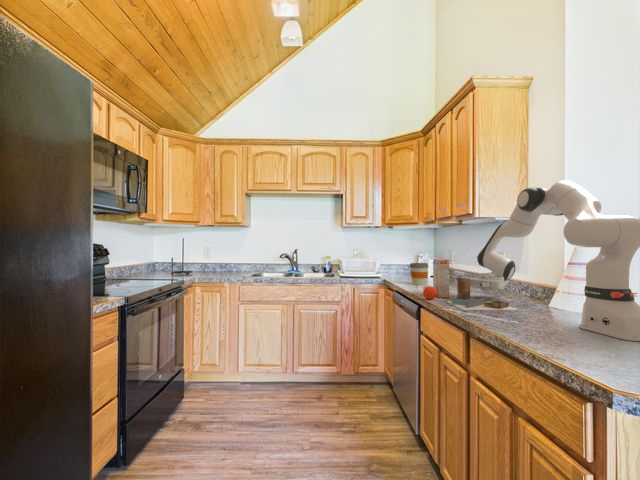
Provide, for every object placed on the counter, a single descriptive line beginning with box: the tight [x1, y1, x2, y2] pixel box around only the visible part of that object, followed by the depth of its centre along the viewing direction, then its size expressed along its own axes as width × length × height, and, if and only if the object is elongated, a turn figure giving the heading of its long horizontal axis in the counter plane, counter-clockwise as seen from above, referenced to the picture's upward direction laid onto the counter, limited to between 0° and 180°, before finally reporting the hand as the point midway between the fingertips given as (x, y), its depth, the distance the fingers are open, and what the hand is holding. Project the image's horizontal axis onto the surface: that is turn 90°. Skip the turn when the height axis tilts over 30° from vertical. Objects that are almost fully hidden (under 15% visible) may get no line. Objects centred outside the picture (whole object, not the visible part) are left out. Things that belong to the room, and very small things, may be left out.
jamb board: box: [446, 298, 519, 313], centre depth 146 cm, size 20×23×4 cm
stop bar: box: [456, 277, 471, 300], centre depth 151 cm, size 4×4×12 cm
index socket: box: [451, 296, 477, 305], centre depth 151 cm, size 8×8×2 cm
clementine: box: [422, 285, 437, 301], centre depth 168 cm, size 8×7×7 cm
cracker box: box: [432, 257, 450, 299], centre depth 178 cm, size 14×6×21 cm, turn 171°
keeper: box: [484, 300, 510, 309], centre depth 143 cm, size 7×8×2 cm
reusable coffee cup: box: [409, 262, 429, 286], centre depth 228 cm, size 13×13×15 cm
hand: (471, 283), depth 155 cm, fingers open, 8 cm apart
